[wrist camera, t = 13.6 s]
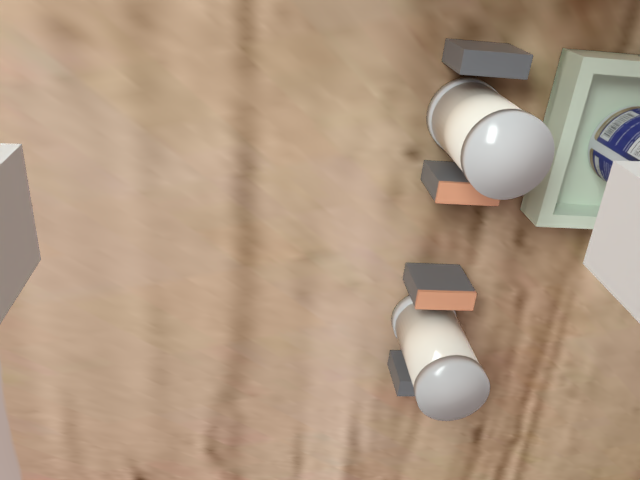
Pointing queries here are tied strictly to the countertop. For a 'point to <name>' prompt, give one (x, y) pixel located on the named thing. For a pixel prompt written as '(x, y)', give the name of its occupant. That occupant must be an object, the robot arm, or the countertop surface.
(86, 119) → the countertop surface
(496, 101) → the fuse
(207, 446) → the countertop surface
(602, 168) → the pill bottle
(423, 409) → the white rounded cylinder
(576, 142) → the tray
